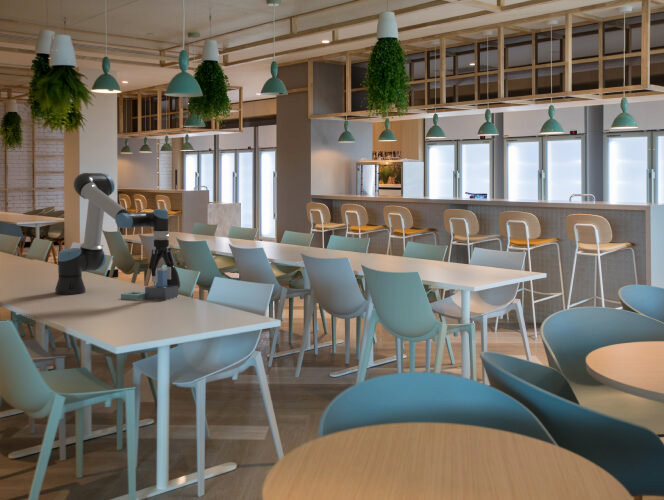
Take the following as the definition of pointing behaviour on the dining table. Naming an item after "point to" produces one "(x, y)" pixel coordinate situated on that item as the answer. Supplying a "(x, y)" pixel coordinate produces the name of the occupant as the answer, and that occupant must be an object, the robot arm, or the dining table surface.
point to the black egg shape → (174, 278)
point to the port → (161, 292)
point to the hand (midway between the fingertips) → (161, 280)
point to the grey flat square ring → (133, 295)
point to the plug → (161, 277)
